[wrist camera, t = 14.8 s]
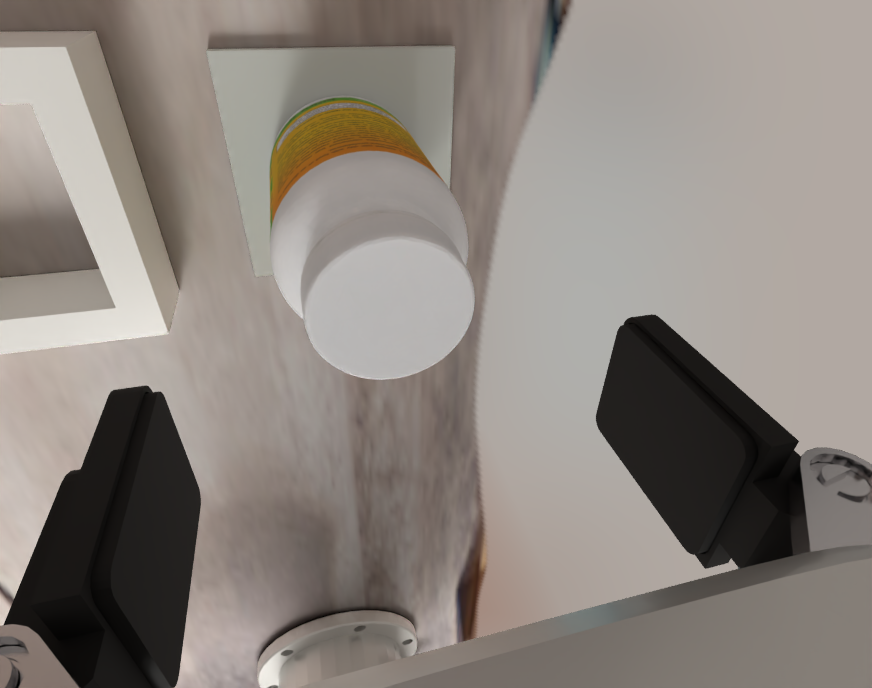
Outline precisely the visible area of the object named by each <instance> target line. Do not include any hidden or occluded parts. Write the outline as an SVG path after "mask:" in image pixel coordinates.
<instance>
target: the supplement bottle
mask: <svg viewBox="0 0 872 688" xmlns="http://www.w3.org/2000/svg"><path fill="white" fill-rule="evenodd" d="M269 180H270V256H271V265H272V270H273V273H274V277H275V280H276V283H277V285H278V287H279V289H280V291H281V293H282V295H283V297H284V298H285V300H286V301H287V303H288V304H289V305H290V307H291V308H292V309H293V310H294V311H295V312H296V313H297V314H298V315H299V316H300V317H301V318H302V319H303V320H304V325H305V329H306V332H307V335H308V337H309V339H310V341H311V343H312V345H313V346H314V348H315V350H316V351H317V352H318V353H319V354H320V356H321V357H322V358H323V359H325V360H326V361H327V362H328V363H330V364H331V365H332V366H334V367H335V368H337V369H339V370H341V371H343V372H345V373H347V374H350V375H353V376H356V377H360V378H366V379H376V380H386V379H396V378H402V377H406V376H410V375H412V374H416V373H418V372H421V371H423V370H425V369H427V368H429V367H431V366H433V365H434V364H436V363H437V362H439V361H440V360H442V359H443V358H444V357H445V356H447V355H448V354H449V353H450V352H451V351H452V350H453V349H454V348H455V347H456V346H457V344H458V343H459V342H460V340H461V339H462V338H463V336H464V335H465V333H466V331H467V329H468V327H469V325H470V322H471V320H472V316H473V312H474V306H475V292H474V286H473V281H472V279H471V276H470V273H469V271H468V269H467V267H466V265H467V259H468V250H469V243H468V233H467V227H466V223H465V219H464V216H463V213H462V211H461V209H460V207H459V205H458V203H457V201H456V199H455V198H454V196H453V194H452V193H451V191H450V190H449V188H448V186H447V185H446V184H445V182H444V181H443V179H442V178H441V177H440V175H439V174H438V173H437V171H436V170H435V169H434V167H433V166H432V164H431V163H430V162H429V160H428V159H427V157H426V156H425V155H424V153H423V152H422V150H421V149H420V147H419V146H418V145H417V143H416V142H415V140H414V139H413V138H412V136H411V135H410V133H409V132H408V131H407V129H406V128H405V127H404V126H403V124H402V123H401V122H400V121H399V120H398V119H397V118H396V117H395V116H394V115H393V114H391V113H390V112H389V111H388V110H386V109H385V108H383V107H382V106H380V105H378V104H376V103H374V102H372V101H369V100H367V99H364V98H360V97H355V96H345V95H341V96H331V97H326V98H322V99H319V100H316V101H313V102H311V103H309V104H307V105H305V106H304V107H302V108H301V109H299V110H298V111H297V112H296V113H294V114H293V115H292V116H291V117H290V118H289V119H288V121H287V122H286V123H285V124H284V126H283V127H282V129H281V130H280V132H279V134H278V135H277V137H276V140H275V142H274V145H273V148H272V152H271V158H270V169H269Z"/></svg>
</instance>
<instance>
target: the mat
mask: <svg viewBox="0 0 872 688" xmlns="http://www.w3.org/2000/svg"><path fill="white" fill-rule="evenodd" d="M206 53H207V58H208V63H209V67H210V72H211V76H212V81H213V86H214V90H215V95H216V99H217V104H218V109H219V113H220V118H221V123H222V127H223V132H224V136H225V141H226V146H227V150H228V155H229V160H230V164H231V169H232V173H233V178H234V183H235V187H236V192H237V197H238V201H239V206H240V210H241V215H242V220H243V224H244V229H245V233H246V238H247V243H248V247H249V252H250V257H251V261H252V266H253V270H254V275H255V277H262V276H272V275H274V273H273V270H272V265H271V256H270V180H269V169H270V158H271V152H272V148H273V145H274V142H275V140H276V137H277V135H278V134H279V132H280V130H281V129H282V127H283V126H284V124H285V123H286V122H287V121H288V119H289V118H290V117H291V116H292V115H293V114H294V113H296V112H297V111H298V110H299V109H301V108H302V107H304V106H305V105H307V104H309V103H311V102H313V101H316V100H319V99H322V98H326V97H331V96H341V95H345V96H355V97H360V98H364V99H367V100H369V101H372V102H374V103H376V104H378V105H380V106H382V107H383V108H385V109H386V110H388V111H389V112H390V113H391V114H393V115H394V116H395V117H396V118H397V119H398V120H399V121H400V122H401V123H402V124H403V126H404V127H405V128H406V129H407V131H408V132H409V133H410V135H411V136H412V138H413V139H414V140H415V142H416V143H417V145H418V146H419V147H420V149H421V150H422V152H423V153H424V155H425V156H426V157H427V159H428V160H429V162H430V163H431V164H432V166H433V167H434V169H435V170H436V171H437V173H438V174H439V175H440V177H441V178H442V179H443V181H444V182H445V184H446V185H447V186H448V188H449V190H450V174H451V148H452V122H453V96H454V70H455V47H454V46H452V45H443V46H376V47H308V48H241V49H207V50H206Z"/></svg>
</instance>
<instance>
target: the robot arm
mask: <svg viewBox="0 0 872 688" xmlns="http://www.w3.org/2000/svg"><path fill="white" fill-rule="evenodd" d="M596 422H597V426H598V428H599V430H600V432H601V433H602V435H603V436H604V437H605V439H606V440H607V442H608V443H609V444H610V446H611V447H612V449H613V450H614V451H615V453H616V454H617V456H618V457H619V458H620V460H621V461H622V462H623V464H624V465H625V466H626V468H627V469H628V471H629V472H630V474H631V475H632V476H633V478H634V479H635V480H636V482H637V483H638V485H639V486H640V488H641V489H642V490H643V492H644V493H645V494H646V496H647V497H648V499H649V500H650V501H651V503H652V504H653V506H654V507H655V508H656V510H657V511H658V513H659V514H660V515H661V517H662V518H663V519H664V521H665V522H666V524H667V525H668V526H669V528H670V529H671V531H672V532H673V533H674V535H675V536H676V538H677V539H678V540H679V542H680V543H681V544H682V546H683V547H684V548H685V549H686V551H687V552H689V553H690V554H693V555H694V554H695V555H696V557H697V558H698V560H699V561H700V562H701V564H702V565H703V566H704V568H710V567H714V566H718V565H721V564H725V563H728V562H729V560H730V559H731V558H732V560H733V561H734V562H735V564H736V565H737V566H738V569H736V570H732V571H729V572H725V573H721V574H717V575H713V576H710V577H706V578H702V579H698V580H694V581H690V582H687V583H683V584H679V585H675V586H671V587H668V588H664V589H660V590H656V591H652V592H649V593H645V594H641V595H637V596H633V597H629V598H625V599H622V600H618V601H614V602H611V603H607V604H603V605H599V606H595V607H592V608H588V609H584V610H580V611H577V612H573V613H569V614H565V615H562V616H558V617H554V618H550V619H547V620H543V621H539V622H536V623H532V624H528V625H524V626H520V627H517V628H513V629H509V630H506V631H502V632H498V633H495V634H491V635H487V636H484V637H479V638H476V639H472V640H468V641H465V642H461V643H457V644H454V645H450V646H446V647H443V648H439V649H435V650H432V651H428V652H424V653H421V654H417V655H414V654H415V652H416V649H417V646H418V644H417V636H416V632H415V629H414V626H413V625H412V623H411V622H410V621H409V620H407V619H406V618H404V617H402V616H401V615H398V614H395V613H392V612H386V611H379V610H360V611H349V612H344V613H338V614H333V615H329V616H326V617H322V618H318V619H316V620H313V621H310V622H308V623H305V624H302V625H300V626H298V627H296V628H294V629H292V630H290V631H288V632H287V633H285V634H284V635H282V636H281V637H279V638H278V639H276V640H275V641H274V642H273V643H272V644H271V645H269V646H268V647H267V648H266V650H265V651H264V652H263V654H262V655H261V656H260V659H259V661H258V664H257V680H258V684H259V686H260V688H872V464H870V463H869V462H867V461H865V460H863V459H861V458H859V457H857V456H856V455H853V454H850V453H847V452H845V451H842V450H837V449H832V448H813V449H810V450H807V451H806V452H805V453H804V454H803V455H802V456H800V455H799V454H797V453H796V452H795V451H794V449H795V447H796V445H797V444H798V442H799V441H798V440H797V439H796V438H795V437H794V436H792V435H791V434H790V433H789V432H788V431H787V430H786V429H785V428H783V427H782V426H781V425H780V424H779V423H778V422H777V421H775V420H774V419H773V418H772V417H771V416H770V415H769V414H768V413H767V412H765V411H764V410H763V409H762V408H761V407H760V406H759V405H757V404H756V403H755V402H754V401H753V400H752V399H751V398H749V397H748V396H747V395H746V394H745V393H744V392H743V391H742V390H740V389H739V388H738V387H737V386H736V385H735V384H734V383H733V382H732V381H730V380H729V379H728V378H727V377H726V376H725V375H724V374H722V373H721V372H720V371H719V370H718V369H717V368H716V367H714V366H713V365H712V364H711V363H710V362H709V361H708V360H707V359H706V358H704V357H703V356H702V355H701V354H700V353H699V352H698V351H697V350H695V349H694V348H693V347H692V346H691V345H690V344H688V342H686V341H685V340H684V339H683V338H682V337H681V336H680V335H678V334H677V333H676V332H675V331H674V330H673V329H672V328H671V327H669V326H668V325H667V324H666V323H665V322H664V321H663V320H662V319H660V318H659V317H658V316H656V315H645V316H638V317H631V318H628V319H627V320H626V321H625V322H624V325H622V326H620V328H619V329H618V331H617V335H616V339H615V343H614V347H613V351H612V355H611V359H610V363H609V367H608V370H607V375H606V378H605V382H604V386H603V390H602V394H601V398H600V402H599V406H598V410H597V414H596ZM200 506H201V498H200V490H199V487H198V484H197V481H196V479H195V476H194V473H193V471H192V468H191V466H190V463H189V460H188V458H187V455H186V452H185V450H184V447H183V444H182V442H181V439H180V437H179V434H178V431H177V429H176V426H175V423H174V421H173V418H172V415H171V413H170V410H169V408H168V405H167V402H166V400H165V397H164V395H163V394H162V392H154V393H153V392H152V390H151V389H150V388H149V386H140V387H133V388H125V389H118V390H113V391H111V393H110V394H109V396H108V399H107V401H106V404H105V407H104V409H103V412H102V415H101V417H100V420H99V423H98V425H97V428H96V430H95V433H94V436H93V438H92V441H91V444H90V446H89V449H88V452H87V454H86V457H85V459H84V462H83V465H82V467H81V469H80V470H74V471H70V472H69V473H68V474H67V475H66V476H65V478H64V479H63V481H62V483H61V485H60V488H59V490H58V493H57V495H56V498H55V500H54V503H53V505H52V507H51V510H50V512H49V515H48V517H47V520H46V522H45V525H44V527H43V530H42V532H41V535H40V537H39V539H38V542H37V544H36V547H35V549H34V552H33V554H32V557H31V559H30V562H29V564H28V566H27V569H26V571H25V574H24V576H23V579H22V581H21V584H20V586H19V589H18V591H17V593H16V596H15V598H14V601H13V603H12V606H11V608H10V611H9V613H8V616H7V618H6V621H5V623H4V625H3V626H0V688H174V687H175V686H176V684H177V681H178V676H179V670H180V662H181V654H182V646H183V639H184V631H185V623H186V615H187V608H188V600H189V592H190V584H191V577H192V569H193V561H194V553H195V546H196V538H197V530H198V522H199V514H200Z"/></svg>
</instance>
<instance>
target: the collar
mask: <svg viewBox="0 0 872 688" xmlns="http://www.w3.org/2000/svg"><path fill="white" fill-rule="evenodd" d="M18 104H31V106H32V109H33V111H34V113H35V116H36V118H37V120H38V123H39V125H40V128H41V130H42V132H43V135H44V137H45V140H46V142H47V144H48V147H49V149H50V152H51V154H52V156H53V159H54V161H55V163H56V166H57V168H58V171H59V173H60V175H61V178H62V180H63V183H64V185H65V187H66V190H67V192H68V195H69V197H70V199H71V202H72V204H73V206H74V209H75V211H76V214H77V216H78V218H79V221H80V223H81V226H82V228H83V230H84V233H85V235H86V238H87V240H88V242H89V245H90V247H91V250H92V252H93V254H94V257H95V259H96V261H97V264H98V266H99V269H91V270H80V271H70V272H59V273H48V274H38V275H27V276H16V277H6V278H0V354H9V353H17V352H25V351H34V350H42V349H50V348H58V347H67V346H75V345H83V344H92V343H100V342H108V341H117V340H125V339H133V338H142V337H150V336H158V335H166V334H169V331H170V327H171V323H172V319H173V315H174V311H175V307H176V303H177V299H178V295H179V288H178V285H177V281H176V278H175V275H174V272H173V269H172V266H171V263H170V260H169V257H168V254H167V250H166V247H165V244H164V241H163V238H162V235H161V232H160V229H159V226H158V223H157V219H156V216H155V213H154V210H153V207H152V204H151V201H150V198H149V195H148V192H147V188H146V185H145V182H144V179H143V176H142V173H141V170H140V167H139V164H138V161H137V157H136V154H135V151H134V148H133V145H132V142H131V139H130V136H129V133H128V130H127V126H126V123H125V120H124V117H123V114H122V111H121V108H120V105H119V102H118V99H117V95H116V92H115V89H114V86H113V83H112V80H111V77H110V74H109V71H108V68H107V64H106V61H105V58H104V55H103V52H102V49H101V46H100V43H99V40H98V37H97V33H96V31H23V32H0V105H18Z"/></svg>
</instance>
